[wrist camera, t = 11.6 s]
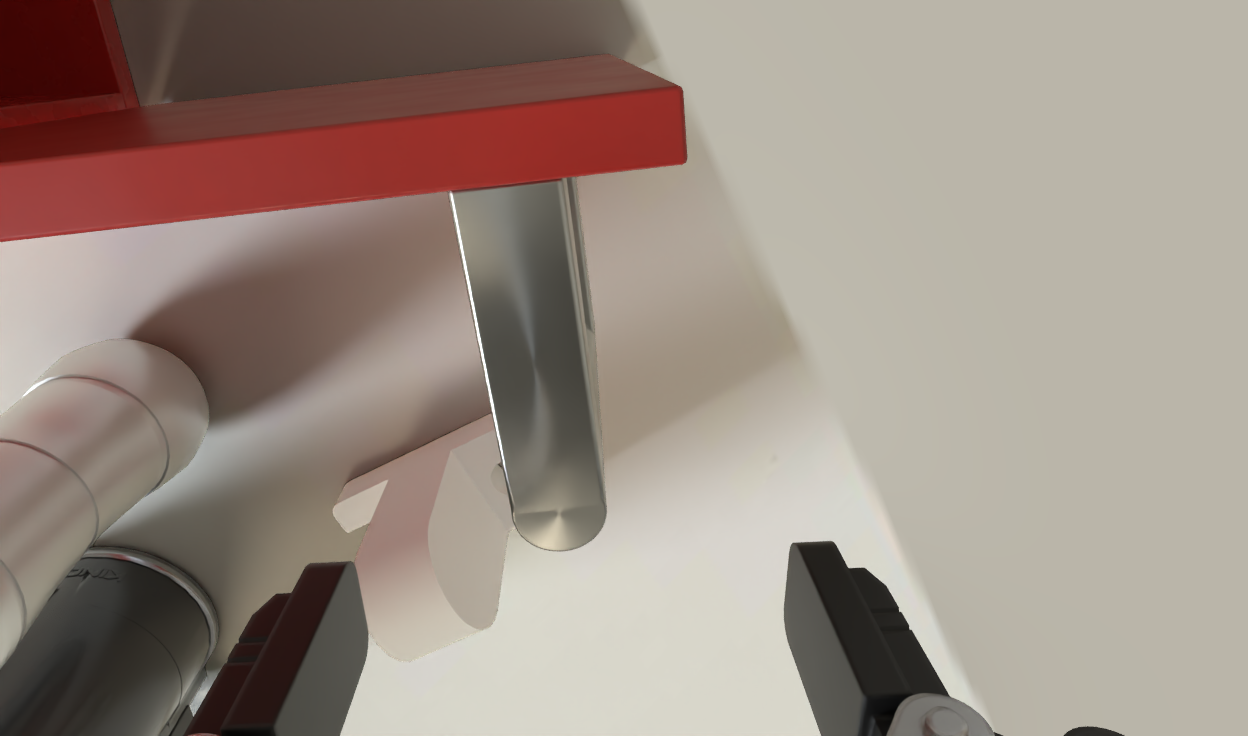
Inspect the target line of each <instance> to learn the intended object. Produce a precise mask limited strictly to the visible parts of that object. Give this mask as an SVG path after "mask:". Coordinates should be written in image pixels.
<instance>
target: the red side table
mask: <svg viewBox="0 0 1248 736" xmlns="http://www.w3.org/2000/svg"><path fill="white" fill-rule="evenodd" d="M686 161H687V145H686V129H685V114H684V98H683V90H682V88H681V87H680V86H678V85H676V84H674V83H672V82H669V81H667V80H665V79H663V78H661V77H659V76H656V75H654V74H652V73H650V72H648V71H645V70H643V69H641V68H639V67H637V66H635V65H632V64H630V63H628V62H626V61H624V60H621V59H619V58H617V57H615V56H613V55H611V54H602V55H593V56H584V57H575V58H566V59H557V60H548V61H539V62H530V63H521V64H513V65H504V66H495V67H486V68H477V69H468V70H459V71H450V72H441V73H432V74H423V75H414V76H405V77H396V78H387V79H378V80H369V81H360V82H351V83H342V84H333V85H324V86H315V87H306V88H297V89H288V90H279V91H270V92H261V93H252V94H243V95H234V96H225V97H216V98H207V99H198V100H189V101H180V102H171V103H162V104H155V105H148V106H142V107H135V108H129V109H123V110H116V111H110V112H103V113H97V114H91V115H84V116H78V117H72V118H65V119H59V120H52V121H46V122H40V123H33V124H27V125H20V126H14V127H8V128H1V129H0V242H5V241H14V240H23V239H31V238H40V237H49V236H58V235H67V234H75V233H84V232H93V231H102V230H111V229H119V228H128V227H137V226H146V225H155V224H164V223H172V222H181V221H190V220H199V219H208V218H216V217H225V216H234V215H243V214H252V213H260V212H269V211H278V210H287V209H296V208H304V207H313V206H322V205H331V204H340V203H349V202H357V201H366V200H375V199H384V198H393V197H401V196H410V195H419V194H428V193H437V192H445V191H449V192H448V197H449V202H450V207H451V212H452V217H453V222H454V227H455V232H456V237H457V242H458V247H459V252H460V257H461V262H462V267H463V272H464V277H465V282H466V287H467V292H468V297H469V302H470V307H471V312H472V317H473V322H474V327H475V333H476V338H477V343H478V348H479V353H480V358H481V363H482V368H483V373H484V378H485V383H486V388H487V393H488V398H489V403H490V408H491V413H492V418H493V423H494V428H495V433H496V438H497V443H498V448H499V453H500V458H501V463H502V468H503V473H504V478H505V483H506V488H507V493H508V498H509V503H510V508H511V515H512V520H513V523H514V525H515V528H516V529H517V531H518V532H519V534H520V535H521V536H522V537H523V538H524V539H525V540H526V541H528V542H529V543H531V544H532V545H534V546H536V547H539V548H541V549H545V550H549V551H568V550H573V549H576V548H579V547H581V546H583V545H585V544H587V543H588V542H590V541H591V540H592V539H594V538H595V537H596V536H597V534H598V533H599V532H600V530H601V529H602V527H603V525H604V523H605V520H606V514H607V506H606V491H605V476H604V461H603V445H602V430H601V415H600V400H599V385H598V369H597V354H596V339H595V324H594V315H593V307H592V299H591V291H590V283H589V275H588V267H587V259H586V251H585V243H584V235H583V227H582V219H581V212H580V204H579V196H578V188H577V180H576V177H578V176H586V175H595V174H604V173H613V172H622V171H630V170H639V169H648V168H657V167H666V166H674V165H682V164H684V163H686Z"/></svg>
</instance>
